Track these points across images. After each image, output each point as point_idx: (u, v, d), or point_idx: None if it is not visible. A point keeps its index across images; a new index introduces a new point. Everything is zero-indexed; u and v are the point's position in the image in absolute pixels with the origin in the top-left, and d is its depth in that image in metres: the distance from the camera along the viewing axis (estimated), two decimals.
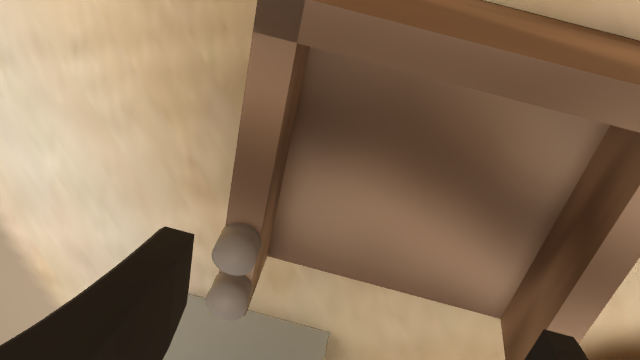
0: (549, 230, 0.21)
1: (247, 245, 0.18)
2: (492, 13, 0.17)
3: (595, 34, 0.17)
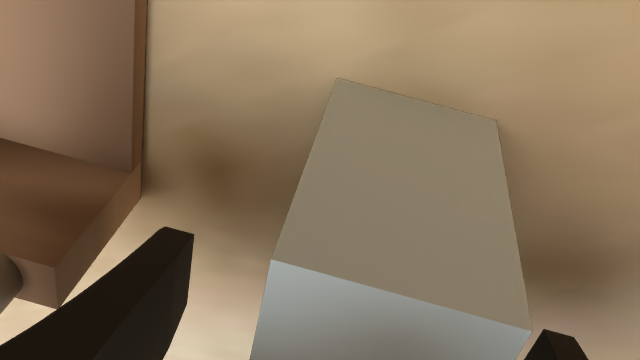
0: None
1: None
2: None
3: None
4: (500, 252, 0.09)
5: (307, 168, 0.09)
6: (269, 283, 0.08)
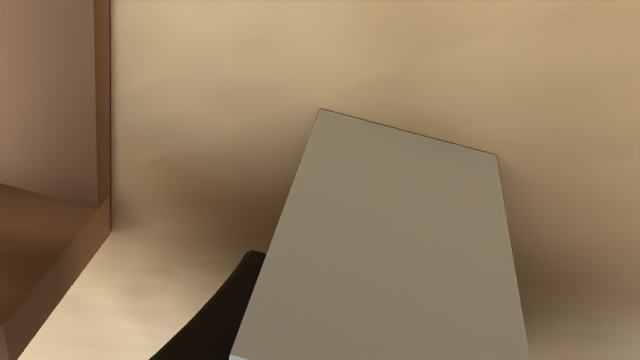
0: None
1: None
2: None
3: None
4: (504, 329, 0.07)
5: (280, 227, 0.08)
6: None
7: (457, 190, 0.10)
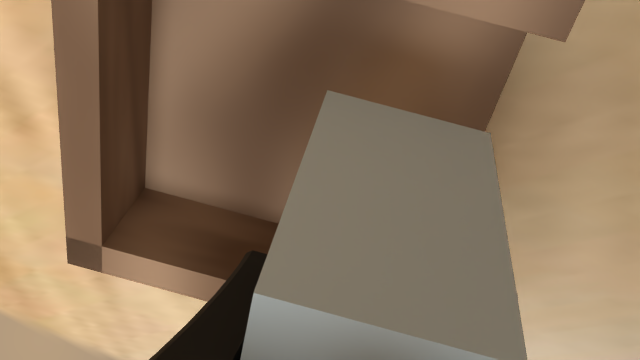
0: None
1: None
2: None
3: None
4: (495, 279, 0.08)
5: (294, 190, 0.09)
6: (252, 317, 0.07)
7: (454, 162, 0.11)
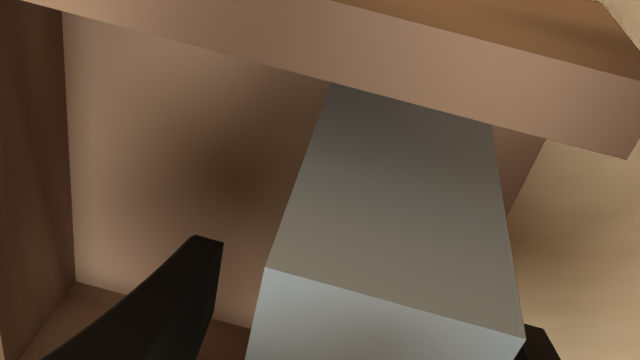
0: None
1: None
2: None
3: None
4: (494, 258, 0.09)
5: (301, 174, 0.09)
6: (263, 291, 0.08)
7: (455, 150, 0.11)
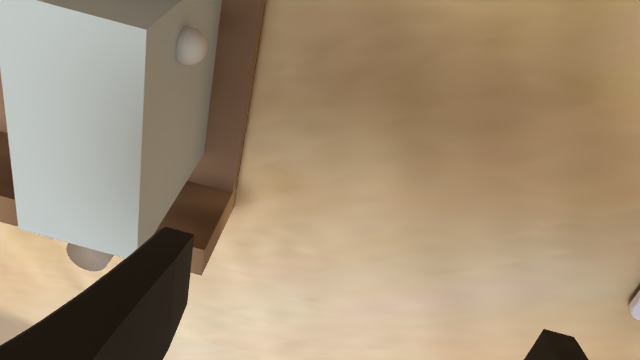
0: None
1: None
2: None
3: None
4: (159, 5, 0.14)
5: None
6: None
7: None
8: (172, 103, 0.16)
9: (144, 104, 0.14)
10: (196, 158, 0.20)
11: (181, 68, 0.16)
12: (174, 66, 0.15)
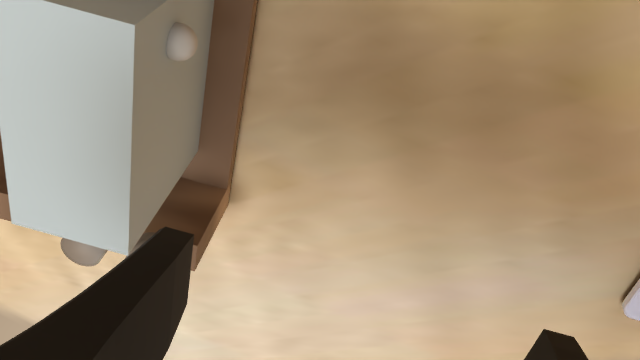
0: None
1: None
2: None
3: None
4: (148, 1, 0.14)
5: None
6: None
7: None
8: (163, 98, 0.16)
9: (133, 99, 0.14)
10: (190, 155, 0.21)
11: (172, 64, 0.16)
12: (165, 62, 0.15)
